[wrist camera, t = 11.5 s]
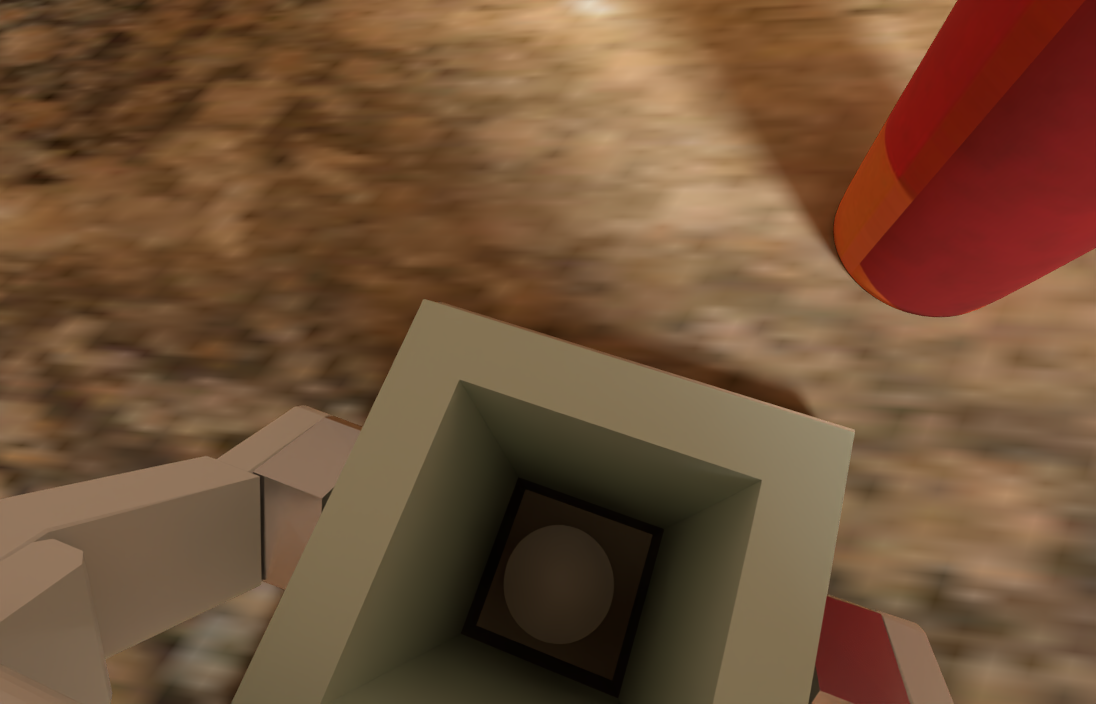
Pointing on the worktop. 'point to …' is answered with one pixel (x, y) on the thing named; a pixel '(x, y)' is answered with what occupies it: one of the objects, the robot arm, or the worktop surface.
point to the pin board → (611, 543)
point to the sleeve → (575, 479)
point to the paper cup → (980, 162)
